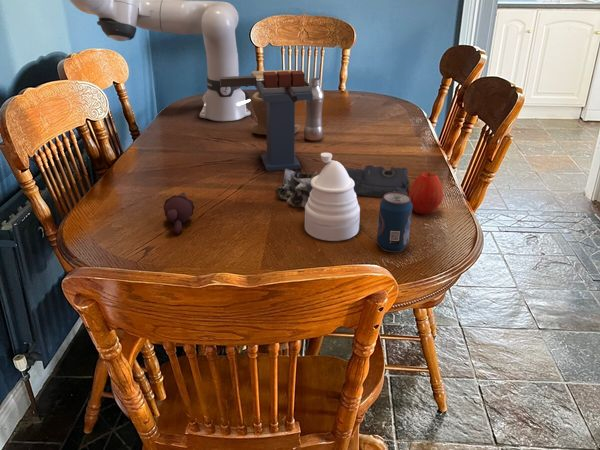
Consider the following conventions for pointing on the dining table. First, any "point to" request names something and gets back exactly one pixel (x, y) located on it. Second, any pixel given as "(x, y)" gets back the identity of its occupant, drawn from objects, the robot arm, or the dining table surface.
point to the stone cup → (262, 115)
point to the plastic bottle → (314, 112)
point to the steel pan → (286, 90)
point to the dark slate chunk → (378, 180)
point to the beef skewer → (267, 80)
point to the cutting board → (260, 73)
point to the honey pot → (332, 204)
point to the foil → (296, 188)
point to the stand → (281, 130)
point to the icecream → (178, 210)
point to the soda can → (394, 221)
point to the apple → (426, 193)
